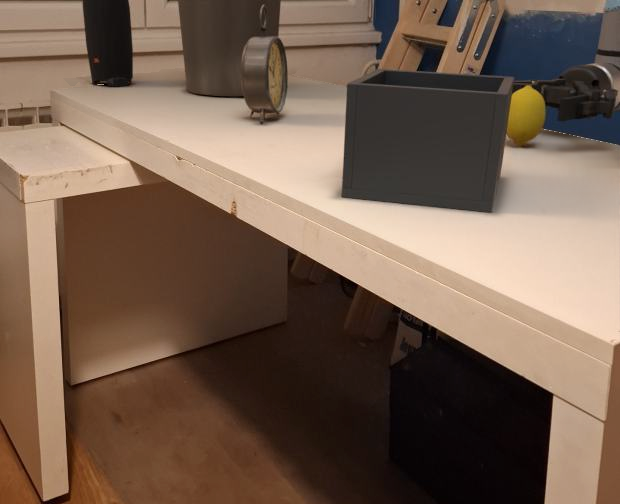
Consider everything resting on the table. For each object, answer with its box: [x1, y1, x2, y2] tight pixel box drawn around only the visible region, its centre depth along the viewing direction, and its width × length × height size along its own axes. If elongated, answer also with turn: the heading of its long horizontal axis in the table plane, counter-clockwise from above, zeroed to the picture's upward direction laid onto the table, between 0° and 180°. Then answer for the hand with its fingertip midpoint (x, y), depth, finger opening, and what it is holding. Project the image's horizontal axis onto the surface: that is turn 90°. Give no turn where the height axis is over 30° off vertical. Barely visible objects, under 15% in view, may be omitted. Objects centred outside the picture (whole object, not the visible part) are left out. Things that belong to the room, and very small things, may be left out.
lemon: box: [506, 85, 547, 147], centre depth 102 cm, size 6×6×8 cm
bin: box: [341, 68, 515, 213], centre depth 79 cm, size 15×15×11 cm
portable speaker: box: [82, 0, 134, 87], centre depth 144 cm, size 9×9×20 cm
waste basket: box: [177, 0, 282, 97], centre depth 138 cm, size 27×20×30 cm
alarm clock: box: [240, 5, 289, 125], centre depth 114 cm, size 11×5×16 cm, turn 166°
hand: (513, 103), depth 99 cm, fingers open, 13 cm apart
